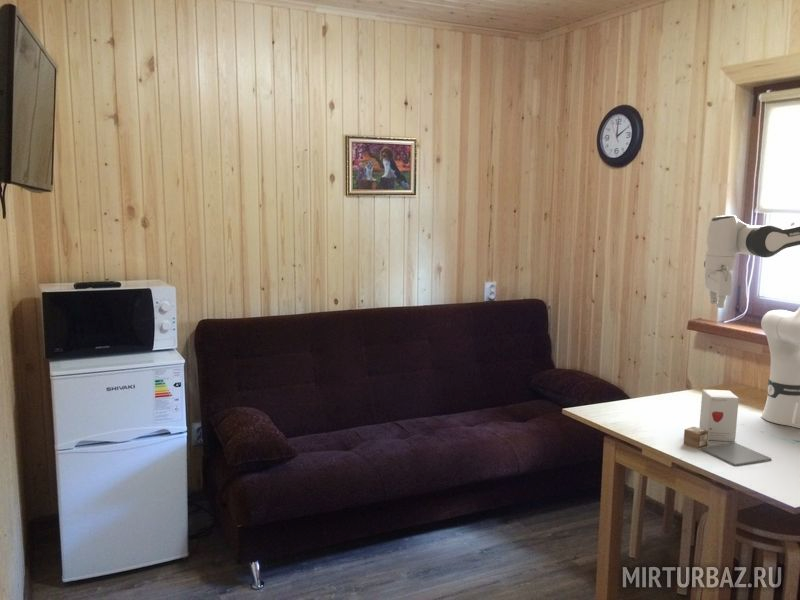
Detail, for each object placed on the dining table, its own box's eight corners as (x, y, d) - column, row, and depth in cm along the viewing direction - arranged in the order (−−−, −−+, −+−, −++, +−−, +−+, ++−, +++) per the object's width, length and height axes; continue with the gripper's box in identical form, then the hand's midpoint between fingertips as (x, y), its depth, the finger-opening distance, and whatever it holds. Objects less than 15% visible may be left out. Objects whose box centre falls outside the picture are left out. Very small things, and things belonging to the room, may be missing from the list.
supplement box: (706, 440, 215) (709, 396, 213) (698, 431, 224) (701, 388, 222) (736, 442, 214) (739, 397, 212) (726, 432, 223) (729, 389, 221)
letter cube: (692, 441, 215) (693, 426, 214) (707, 446, 211) (708, 430, 210) (683, 444, 212) (684, 429, 212) (698, 449, 208) (699, 433, 207)
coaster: (734, 444, 212) (735, 442, 212) (771, 460, 199) (771, 458, 199) (699, 449, 208) (700, 447, 207) (734, 466, 194) (735, 464, 194)
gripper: (738, 267, 206) (735, 310, 208) (722, 262, 226) (719, 301, 228) (717, 266, 208) (713, 309, 210) (702, 261, 228) (700, 300, 230)
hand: (716, 305), depth 219 cm, fingers open, 8 cm apart
